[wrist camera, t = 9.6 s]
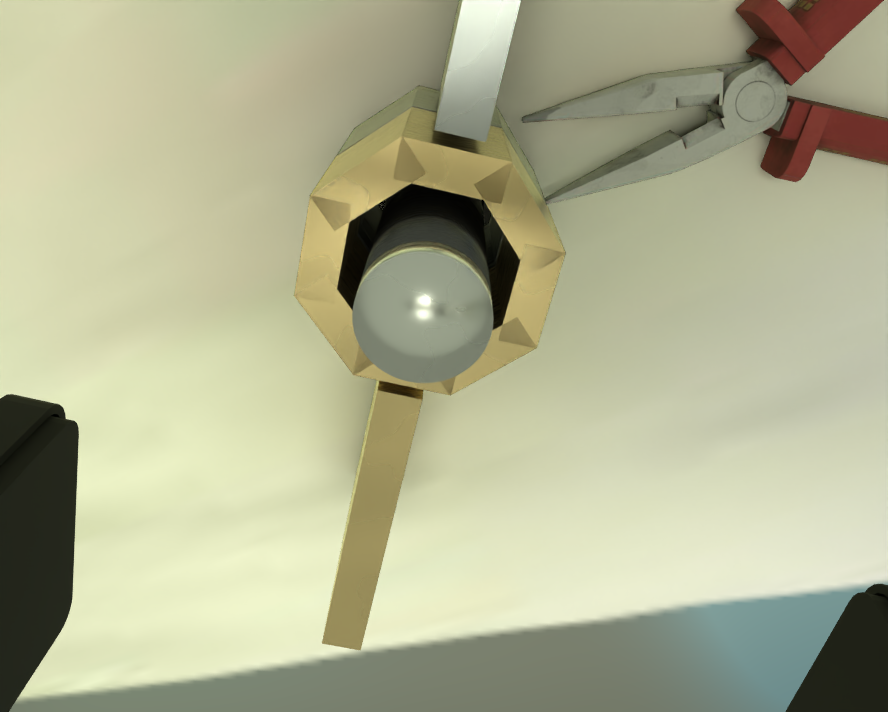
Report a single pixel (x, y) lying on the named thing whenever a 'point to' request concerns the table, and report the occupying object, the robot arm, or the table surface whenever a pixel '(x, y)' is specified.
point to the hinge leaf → (336, 284)
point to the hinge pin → (425, 287)
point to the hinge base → (460, 96)
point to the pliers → (740, 102)
